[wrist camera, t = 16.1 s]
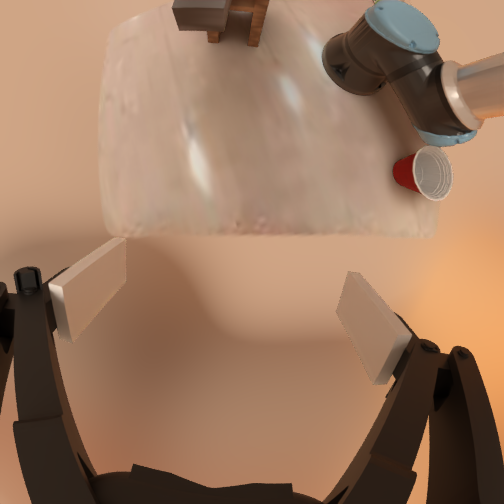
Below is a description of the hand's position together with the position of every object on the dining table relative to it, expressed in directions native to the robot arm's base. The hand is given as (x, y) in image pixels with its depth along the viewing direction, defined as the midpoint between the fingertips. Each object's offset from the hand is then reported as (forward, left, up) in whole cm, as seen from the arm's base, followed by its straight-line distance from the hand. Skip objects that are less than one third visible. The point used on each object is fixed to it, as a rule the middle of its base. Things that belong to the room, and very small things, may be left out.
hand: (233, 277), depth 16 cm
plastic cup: (-36, -14, -38) cm, 54 cm away
